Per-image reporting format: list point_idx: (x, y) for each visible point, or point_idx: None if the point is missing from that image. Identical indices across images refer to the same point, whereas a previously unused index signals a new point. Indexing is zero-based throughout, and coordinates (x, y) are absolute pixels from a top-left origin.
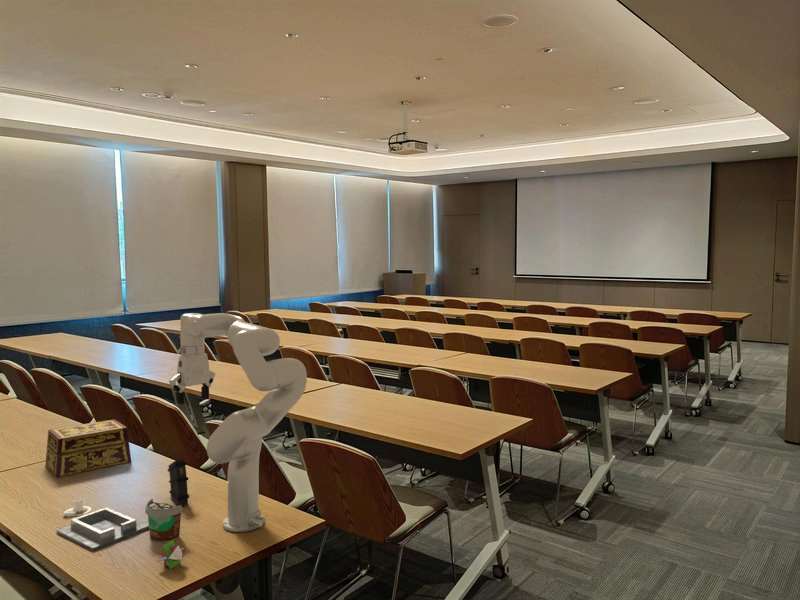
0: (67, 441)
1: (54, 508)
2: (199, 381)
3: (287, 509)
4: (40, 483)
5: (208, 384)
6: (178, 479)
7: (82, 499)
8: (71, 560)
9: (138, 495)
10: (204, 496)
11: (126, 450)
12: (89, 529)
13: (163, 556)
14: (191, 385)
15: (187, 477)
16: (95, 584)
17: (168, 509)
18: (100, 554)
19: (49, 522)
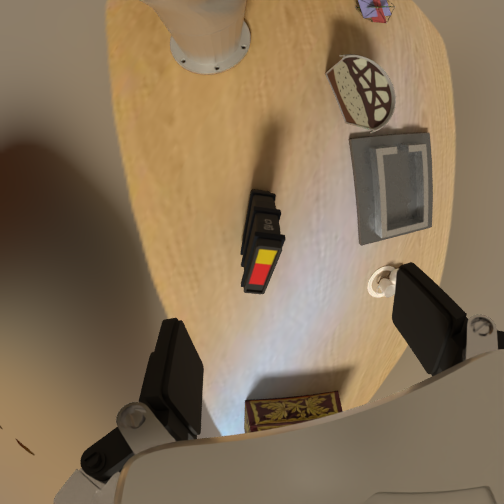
0: None
1: (392, 307)
2: (337, 453)
3: (113, 55)
4: (357, 383)
5: (140, 427)
6: (277, 211)
7: (384, 291)
8: (446, 131)
9: (297, 289)
10: (206, 210)
11: (253, 415)
12: (427, 174)
13: (379, 20)
14: (448, 371)
15: (255, 209)
16: (441, 54)
17: (371, 60)
18: (423, 116)
19: (417, 266)
